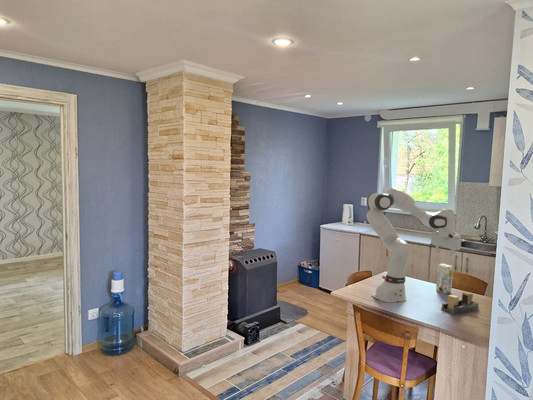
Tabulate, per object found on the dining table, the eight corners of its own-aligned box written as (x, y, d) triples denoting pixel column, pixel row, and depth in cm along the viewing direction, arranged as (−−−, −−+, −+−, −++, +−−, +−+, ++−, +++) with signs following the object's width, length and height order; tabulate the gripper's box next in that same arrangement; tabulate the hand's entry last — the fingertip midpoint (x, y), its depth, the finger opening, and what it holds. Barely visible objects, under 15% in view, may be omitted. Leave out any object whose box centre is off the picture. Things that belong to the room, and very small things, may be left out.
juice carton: (445, 294, 250) (448, 267, 248) (434, 290, 257) (436, 264, 255) (452, 292, 253) (454, 265, 252) (441, 288, 261) (443, 262, 259)
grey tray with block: (454, 315, 214) (455, 299, 213) (441, 309, 222) (442, 294, 221) (478, 309, 224) (479, 294, 223) (464, 304, 232) (466, 289, 231)
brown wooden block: (465, 304, 228) (466, 291, 228) (471, 306, 225) (472, 293, 224) (460, 305, 226) (461, 292, 226) (466, 307, 223) (467, 294, 222)
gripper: (429, 230, 249) (428, 250, 250) (456, 236, 231) (454, 258, 232) (435, 230, 252) (434, 250, 253) (463, 236, 234) (461, 257, 235)
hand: (444, 253), depth 243 cm, fingers open, 8 cm apart
